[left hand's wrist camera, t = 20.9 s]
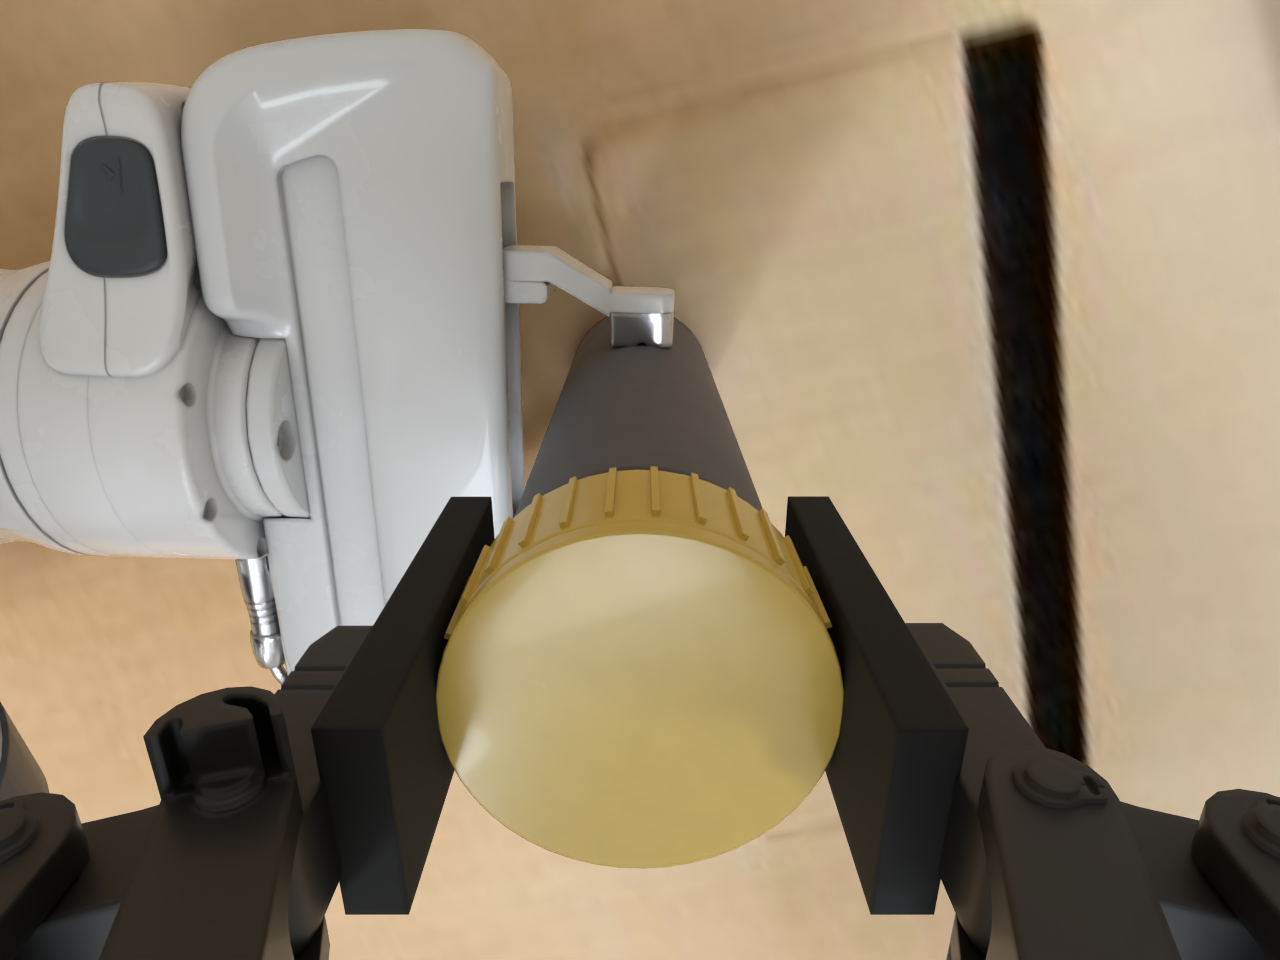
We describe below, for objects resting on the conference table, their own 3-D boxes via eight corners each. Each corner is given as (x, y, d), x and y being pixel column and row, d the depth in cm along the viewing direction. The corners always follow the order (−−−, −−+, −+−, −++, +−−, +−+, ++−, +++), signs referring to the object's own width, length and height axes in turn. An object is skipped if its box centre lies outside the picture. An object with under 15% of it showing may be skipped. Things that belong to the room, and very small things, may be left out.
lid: (564, 396, 11) (545, 445, 9) (885, 566, 12) (936, 647, 10) (410, 683, 13) (365, 780, 11) (701, 811, 14) (712, 923, 12)
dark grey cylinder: (545, 361, 29) (394, 643, 11) (655, 279, 28) (682, 447, 10) (625, 464, 30) (605, 857, 13) (733, 390, 29) (876, 706, 11)
